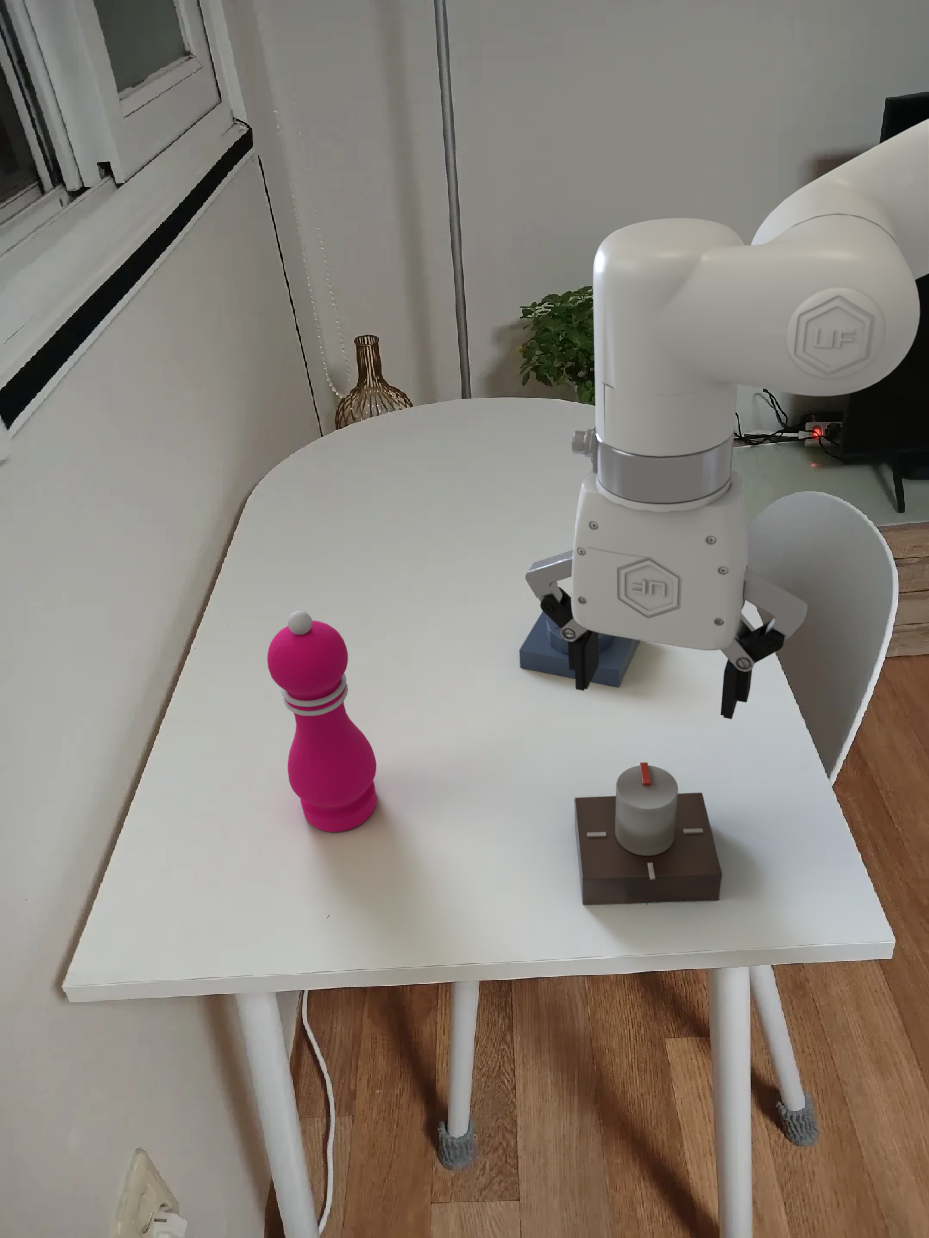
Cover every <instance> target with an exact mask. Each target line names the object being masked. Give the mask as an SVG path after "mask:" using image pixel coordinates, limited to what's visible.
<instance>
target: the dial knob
mask: <svg viewBox="0 0 929 1238" xmlns="http://www.w3.org/2000/svg"><path fill="white" fill-rule="evenodd" d="M615 783H616V784H615V796H616V814H615V834H616V838H617V840H618V842H619V843H620V845H621V846H622V847H624V848H625V849H626V850H628V851H629V852H632V853H634V854H637V855H643V856H652V855H657V854H660V853H662V852H664V851H666V850H667V849H668V848H669V847H670V846H671V845H672V843H673V841H674V836H675V823H676V809H677V796H678V794H679V793H678V792H679V786H678V783H677V781H676V779H675V777H674V776H673V775H672V774H671V773H670V772H668V771H667V770H665V769H663V768H661V767H658V766H655V765H649V763H648V762H647V761H645V762H643V761H641V762H639V765H636V766H631V767H629V768H627V769H625V770H624V771H622V772H621V773H620V775H619V776H618V777H617V780H616V782H615Z"/></svg>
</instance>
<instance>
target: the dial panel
mask: <svg viewBox="0 0 929 1238" xmlns="http://www.w3.org/2000/svg"><path fill="white" fill-rule="evenodd" d="M573 800H574V802H573V803H574V809H573V810H574V831H575V832H574V833H575V841H576V851H577V860H578V861H577V862H578V871H579V881H580V882H579V883H580V893H581V903H582V905H587V906H588V905H613V904H614V905H615V904H645V903H646V904H648V903H675V902H677V903H678V902H680V903H681V902H704V901H705V902H710V901H720V895H721V886H722V878H723V871H722V867H721V863H720V860H719V855H718V851H717V847H716V843H715V839H714V834H713V832H712V827H711V823H710V818H709V815H708V811H707V808H706V807H707V806H706V803H705V799H704V796H703V792H685V793H683V792H682V793H680V792H679V793H678V796H677V809H676V823H675V836H674V841H673V843H672V845H671V846H670V847H669V848H668V849H667V850H666V851H664V852H662V853H660V854H657V855H652V856H643V855H637V854H634V853H632V852H629V851H628V850H626V849H625V848H624V847H622V846H621V845H620V843H619V842H618V840H617V838H616V834H615V814H616V795H607V796H606V795H605V796H581V797H574V799H573Z"/></svg>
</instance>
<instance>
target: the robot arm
mask: <svg viewBox="0 0 929 1238" xmlns="http://www.w3.org/2000/svg"><path fill="white" fill-rule="evenodd" d="M928 274H929V118H927V119H925V120H923V121H921V122H919V123H917V124H915V125H913V126H911V127H909V128H907V129H905V130H903V131H902V132H899V133H898V134H896V135H894V136H892V137H890V138H888V139H887V140H884V141H883V142H881V143H879V144H878V145H877V144H876V145H875V146H874V147H872V148H870V149H868V150H867V151H864V152H863V153H861V154H859V155H857V156H855V157H853V158H852V159H850V160H848V161H846V162H845V163H842V164H841V165H839V166H837V167H836V168H834V169H832V170H830V171H828V172H827V173H825V174H823V175H822V176H820V177H818V178H816V179H814V180H813V181H811V182H809V183H807V184H806V185H804V186H802V187H801V188H799V189H798V190H796V191H795V192H793V193H792V194H791V195H790V196H788V197H787V198H785V199H784V200H783V201H782V202H781V203H779V205H777V206H776V207H775V208H774V209H773V210H772V211H771V212H769V214H768V215H767V217H766V218H765V219H764V220H763V222H762V223H761V225H760V226H759V227H758V228H757V231H756V233H755V235H754V237H753V239H752V241H751V244H749V245H747V244H746V245H745V244H744V242H743V240H742V239H741V237H740V236H739V235H738V233H737V232H736V231H735V230H734V229H732V228H731V227H730V226H728V225H727V224H724V223H720V222H716V221H714V220H709V219H703V218H695V217H694V218H693V217H671V218H657V219H651V220H645V221H640V222H635V223H632V224H628V225H626V226H624V227H621V228H619V229H616V230H615V231H613V232H611V233H610V234H609V235H608V236H606V238H605V239H603V240H602V242H601V243H600V245H599V246H598V249H597V251H596V254H595V256H594V260H593V271H592V297H593V298H592V299H593V303H592V304H593V307H592V308H593V355H594V356H593V358H594V359H593V360H594V362H593V363H594V392H595V393H594V397H595V399H594V401H595V404H594V407H595V408H594V409H595V411H594V413H595V414H594V415H595V426H594V428H593V429H592V428H588V429H587V430H575V431H574V433H573V435H572V440H571V451H572V453H573V454H577V455H584V457H585V458H590V462H591V463H592V468H591V470H590V471H589V473H587V474H586V475H585V476H584V478H583V479H582V482H581V485H580V486H581V487H580V491H579V497H578V502H577V508H576V514H575V515H576V516H575V517H576V518H575V526H574V533H573V544H572V545H573V546H572V550H569V551H565V552H562V553H559V554H557V555H553V556H551V557H548V558H545V559H541V560H538V561H535V562H533V563H532V564H531V565H530V567H529V569H528V571H527V572H526V574H525V576H524V577H525V581H526V582H527V584H528V586H529V588H530V589H531V591H532V592H533V594H534V596H535V597H536V599H538V600H539V602H540V605H539V607H540V609H541V612H542V611H543V612H544V613H545V614H546V615H547V616H548V617H549V618H550V619H551V620H553V621H554V622H555V623H556V624H557V625H558V626H559V627H560V628H561V631H560V634H561V636H562V637H563V639H565V640H567V641H568V658H569V669H570V670H573V671H575V679H574V681H575V690H577V691H583V692H584V691H585V690H588V689H589V686H590V685H591V683H592V682H591V680H592V678H593V676H594V674H595V672H596V670H597V668H598V665H599V640H598V633H603V634H607V635H613V636H619V637H624V638H630V639H636V640H640V641H643V642H649V643H653V644H661V645H667V646H673V647H679V648H684V649H691V650H699V651H721V652H722V654H723V655H724V656H725V657H726V658H727V661H726V663H725V666H724V669H723V679H722V693H721V704H720V716H723V717H722V718H723V719H729V720H732V719H733V716H734V713H735V710H736V707H737V703H738V702H742V703H747V702H748V699H749V695H750V693H751V684H752V676H753V675H752V673H753V669H754V666H755V664H757V663H758V662H760V661H762V660H763V659H766V658H767V657H769V656H771V655H773V654H774V653H777V652H778V651H780V650H781V649H783V648H784V644H785V643H786V642H787V640H788V639H790V638H791V637H792V636H793V635H794V634H795V632H797V630H798V629H799V628H800V627H801V626H802V624H803V623H804V622H805V621H806V617H807V613H808V609H809V607H808V603H807V602H806V601H804V600H803V599H801V598H800V597H798V596H796V595H794V594H792V593H791V592H789V591H788V590H786V589H784V588H782V587H780V586H779V585H777V584H775V583H773V582H772V581H770V580H769V579H766V578H765V577H763V576H762V575H760V574H758V573H757V572H755V571H753V570H751V569H749V536H748V531H749V530H748V516H747V515H748V514H747V505H746V498H745V490H744V486H743V481H742V478H741V475H739V473H738V472H737V471H735V470H732V468H733V455H734V453H733V452H734V439H735V426H736V425H735V424H736V413H737V411H736V410H737V401H738V400H737V398H738V387H739V385H741V386H747V387H752V388H758V389H764V390H769V391H775V392H779V393H780V392H781V393H787V394H792V395H800V396H809V397H833V396H841V395H842V396H843V395H847V394H852V393H856V392H859V391H861V390H863V389H867V388H868V387H869V388H870V387H872V386H873V385H874V384H877V383H878V382H880V381H882V379H884V378H885V377H887V376H889V375H890V374H891V373H892V372H893V371H894V370H895V369H896V368H897V367H898V366H899V365H900V364H901V363H902V361H903V360H904V359H905V358H906V356H907V354H908V353H909V351H910V349H911V347H912V345H913V344H914V341H915V338H916V336H917V332H918V327H919V325H920V318H921V317H920V316H921V308H920V307H921V305H920V297H919V291H918V286H917V283H916V280H918V279H919V278H921V277H924V276H926V275H928ZM569 578H571V579H570V580H571V581H570V582H571V583H570V595H569V593H567V591H565V590H564V589H563V588H562V587H560V586H558V584H559V583H558V582H559V581H562V580H566V579H569ZM746 602H748V603H750V604H751V605H753V606H755V607H756V608H758V609H760V610H762V611H763V612H765V613H767V614H769V615H771V617H773V618H772V619H771V620H770V621H767V622H766V623H764V624H762V625H760V626H759V627H757V628H755V627H754V626H753V625H752V623H750V621H749V620H748V619H747V618H746V616H745V615H744V614H743V613H742V611H743V609H744V607H745V604H746Z"/></svg>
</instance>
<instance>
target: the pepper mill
mask: <svg viewBox="0 0 929 1238" xmlns="http://www.w3.org/2000/svg"><path fill="white" fill-rule="evenodd" d="M268 646H269V647H268V650H267V655H266V656H267V657H266V658H267V659H266V660H267V668H268V671H269V674H270V677H271V679H272V681H274V683H276V685H277V686H278V687H279V688H280V692H281V696H282V701H283V704H284V706H285V707H286V709H287V710H289V711H290V712H292V713H293V715H294V720H295V733H294V735H293V740H292V742H291V745H290V749H289V753H288V759H287V775H288V782H289V785H290V787H291V789H292V791H293V792H294V794H295V795H296V796H297V797H298V798H299V799H300V804H301V808H302V812H303V815H304V818H305V819H306V821H307V822H308V824H310V825H311V826H312V827H313V828H316V829H318V830H320V831H322V832H328V833H340V832H344V831H345V832H346V831H349V830H352V829H354V828H356V827H359V826H360V825H362V824H364V822H366V821H367V820H368V819H369V818H370V817H371V816H372V814H373V813H374V811H375V809H376V807H377V803H378V797H377V791H376V786H375V782H374V779H375V777H376V773H377V759H376V756H375V753H374V749H373V746H372V745H371V743H370V741H369V740H368V739H367V738H368V737H366V735H365V734H364V733H363V732H362V731H361V729H360V728H359V727H358V726H357V725H356V724H355V723H354V722H353V721H352V719H351V718H350V717H349V715H348V713H347V709H346V707H345V700H346V698H347V696H348V692H349V686H348V684H347V683H348V682H347V676H346V674H345V672H346V670H347V667H348V663H349V653H348V649H347V645H346V642H345V640H344V638H343V637H342V635H341V634H340V632H339V631H338V630H337V629H335V628H334V627H333V626H331V625H329V624H328V623H326V622H322V621H319V620H313V619H312V617H311V615H310V614H309V613H308V612H307V611H304V610H295V611H294V612H292V613H291V614H289V617H288V618H287V625H286V626H285V627H283V628H282V629H280V630H279V631H278V632H277V633H276V634H275V636H274V637H273V638H272V640H271V641H270V642H269V645H268Z"/></svg>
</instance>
